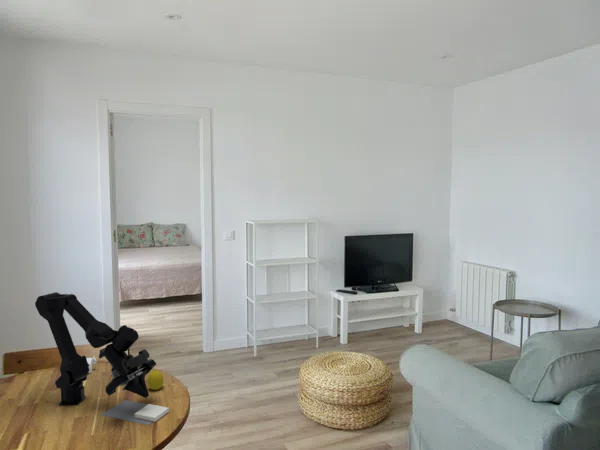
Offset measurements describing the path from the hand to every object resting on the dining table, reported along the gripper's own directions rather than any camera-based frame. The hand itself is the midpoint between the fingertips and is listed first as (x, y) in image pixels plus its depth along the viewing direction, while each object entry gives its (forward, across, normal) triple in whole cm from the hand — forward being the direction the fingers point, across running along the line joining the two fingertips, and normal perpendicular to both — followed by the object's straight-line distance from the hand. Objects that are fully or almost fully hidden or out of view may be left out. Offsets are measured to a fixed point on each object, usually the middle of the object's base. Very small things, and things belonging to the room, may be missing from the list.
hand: (147, 396), depth 145 cm
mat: (+1, 0, +8) cm, 8 cm away
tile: (+2, 0, +5) cm, 6 cm away
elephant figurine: (-29, +22, +38) cm, 53 cm away
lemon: (-2, +17, +12) cm, 21 cm away
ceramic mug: (-15, +21, +25) cm, 36 cm away
